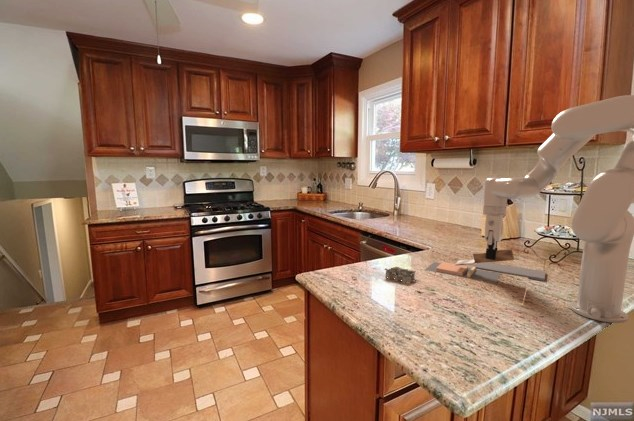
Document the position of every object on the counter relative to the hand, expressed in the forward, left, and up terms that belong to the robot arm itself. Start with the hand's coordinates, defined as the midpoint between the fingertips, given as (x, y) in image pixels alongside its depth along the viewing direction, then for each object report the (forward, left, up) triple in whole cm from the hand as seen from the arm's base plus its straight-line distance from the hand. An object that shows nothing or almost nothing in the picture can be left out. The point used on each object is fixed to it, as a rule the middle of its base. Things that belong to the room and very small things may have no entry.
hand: (491, 257), depth 118 cm
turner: (0, +3, -2) cm, 4 cm away
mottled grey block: (-20, +28, -9) cm, 36 cm away
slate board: (+13, -5, -8) cm, 16 cm away
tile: (0, +9, -7) cm, 11 cm away
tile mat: (0, +10, -8) cm, 13 cm away
